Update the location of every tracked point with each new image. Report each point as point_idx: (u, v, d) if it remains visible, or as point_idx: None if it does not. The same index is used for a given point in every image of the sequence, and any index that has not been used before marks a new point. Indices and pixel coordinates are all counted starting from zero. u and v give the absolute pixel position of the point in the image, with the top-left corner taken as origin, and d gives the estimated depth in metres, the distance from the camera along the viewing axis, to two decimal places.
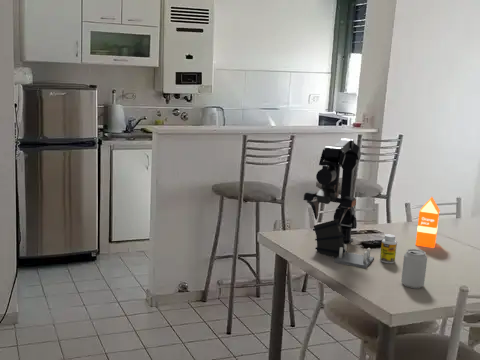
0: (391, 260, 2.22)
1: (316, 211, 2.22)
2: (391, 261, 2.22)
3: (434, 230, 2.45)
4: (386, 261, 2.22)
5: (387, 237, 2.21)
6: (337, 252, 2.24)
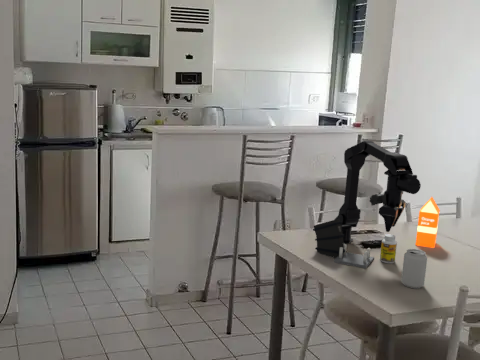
0: (391, 260, 2.22)
1: None
2: (391, 261, 2.22)
3: (434, 230, 2.45)
4: (386, 261, 2.22)
5: (387, 237, 2.21)
6: (337, 252, 2.24)
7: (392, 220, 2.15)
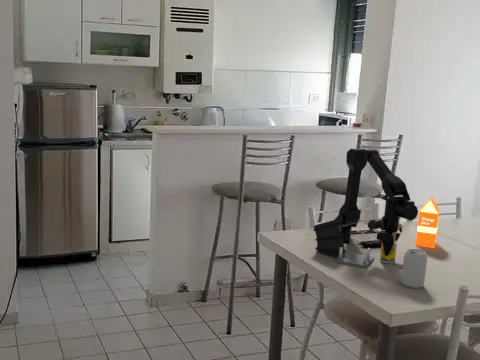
0: (391, 260, 2.22)
1: None
2: (391, 261, 2.22)
3: (434, 230, 2.45)
4: (386, 261, 2.22)
5: None
6: (337, 252, 2.24)
7: (391, 244, 2.18)
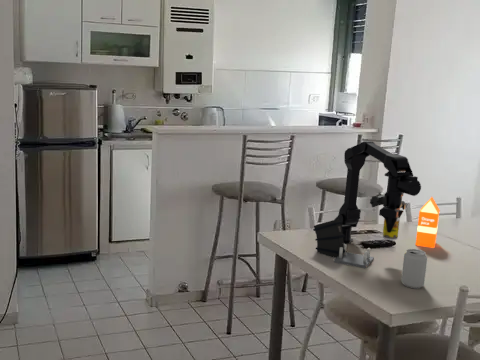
0: (394, 237, 2.20)
1: None
2: (394, 238, 2.20)
3: (434, 230, 2.45)
4: (389, 238, 2.20)
5: None
6: (337, 252, 2.24)
7: (393, 221, 2.17)
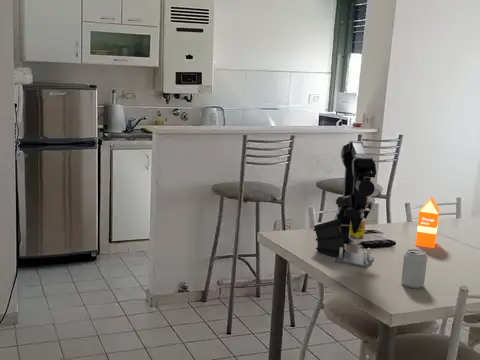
0: (360, 238, 2.19)
1: None
2: (360, 238, 2.19)
3: (434, 230, 2.45)
4: (354, 238, 2.19)
5: None
6: (337, 252, 2.24)
7: (359, 221, 2.15)
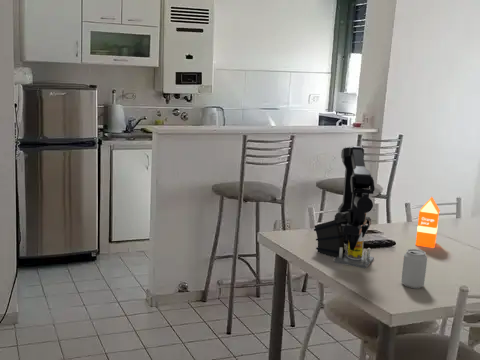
0: (358, 257, 2.20)
1: None
2: (358, 258, 2.20)
3: (434, 230, 2.45)
4: (353, 258, 2.20)
5: None
6: (337, 252, 2.24)
7: (356, 238, 2.15)
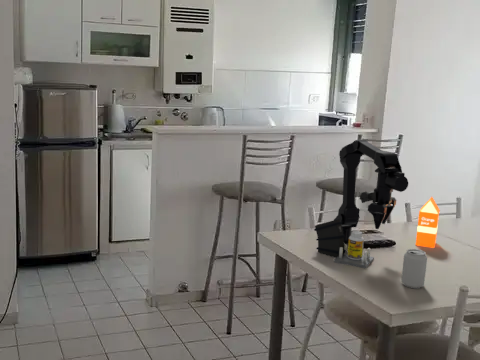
0: (358, 257, 2.20)
1: None
2: (358, 258, 2.20)
3: (434, 230, 2.45)
4: (353, 258, 2.20)
5: (354, 234, 2.20)
6: (337, 252, 2.24)
7: (381, 217, 2.17)
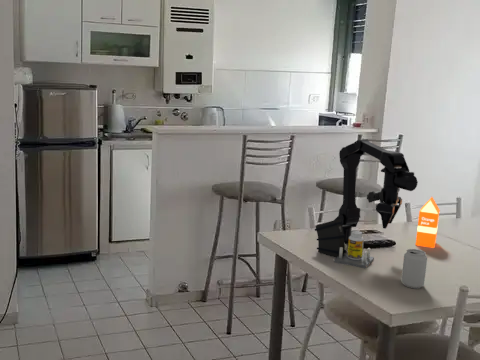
0: (358, 257, 2.20)
1: None
2: (358, 258, 2.20)
3: (434, 230, 2.45)
4: (353, 258, 2.20)
5: (354, 234, 2.20)
6: (337, 252, 2.24)
7: (389, 217, 2.19)
